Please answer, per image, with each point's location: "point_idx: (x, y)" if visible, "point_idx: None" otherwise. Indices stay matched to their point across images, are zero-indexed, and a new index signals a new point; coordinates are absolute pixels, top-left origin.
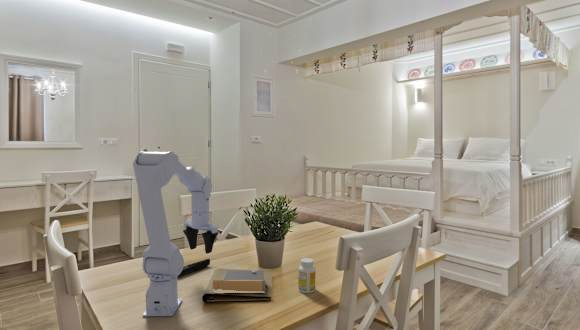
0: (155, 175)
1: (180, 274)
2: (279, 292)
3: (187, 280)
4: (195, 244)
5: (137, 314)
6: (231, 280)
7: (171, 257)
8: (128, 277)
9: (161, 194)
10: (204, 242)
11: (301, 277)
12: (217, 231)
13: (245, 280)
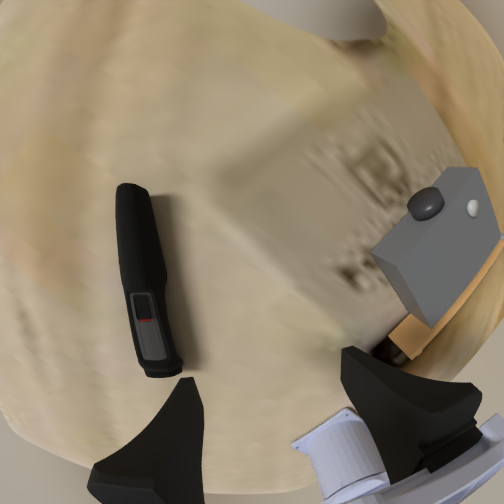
0: None
1: (181, 359)
2: (493, 198)
3: (230, 349)
4: (192, 400)
5: (312, 466)
6: (453, 312)
7: None
8: (86, 426)
9: None
10: (373, 439)
11: None
12: (499, 420)
13: (479, 279)
